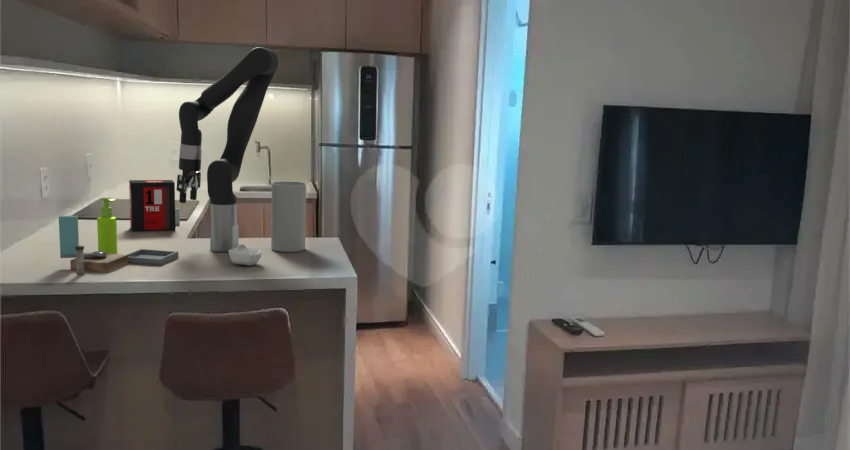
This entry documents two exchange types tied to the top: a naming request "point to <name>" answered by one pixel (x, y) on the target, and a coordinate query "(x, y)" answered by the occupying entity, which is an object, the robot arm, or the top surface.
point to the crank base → (96, 262)
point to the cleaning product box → (152, 205)
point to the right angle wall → (177, 216)
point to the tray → (151, 257)
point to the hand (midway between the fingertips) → (188, 201)
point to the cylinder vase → (288, 216)
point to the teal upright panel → (72, 238)
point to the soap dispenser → (107, 229)
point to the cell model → (245, 255)
